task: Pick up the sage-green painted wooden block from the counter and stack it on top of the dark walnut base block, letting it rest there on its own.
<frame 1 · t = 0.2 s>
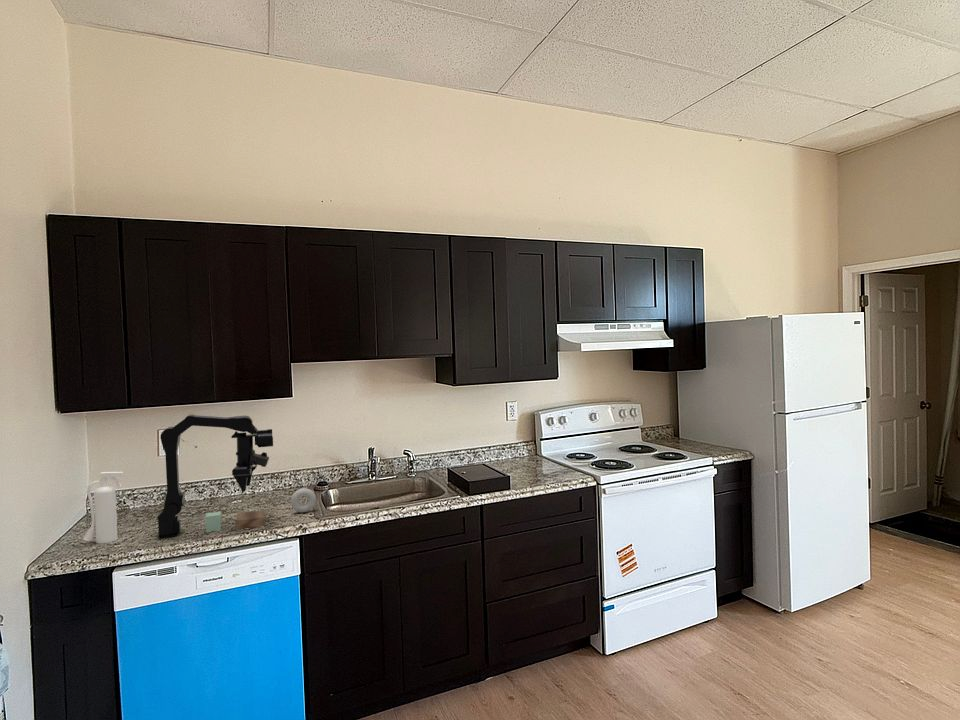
hand: (246, 488, 209), 14 cm above the countertop, tool pointing down, fingers open, 9 cm apart
donut: (303, 512, 223), on the countertop
sage block: (213, 529, 204), on the countertop
fire extinguisher: (104, 541, 195), on the countertop
walnut base: (251, 525, 209), on the countertop
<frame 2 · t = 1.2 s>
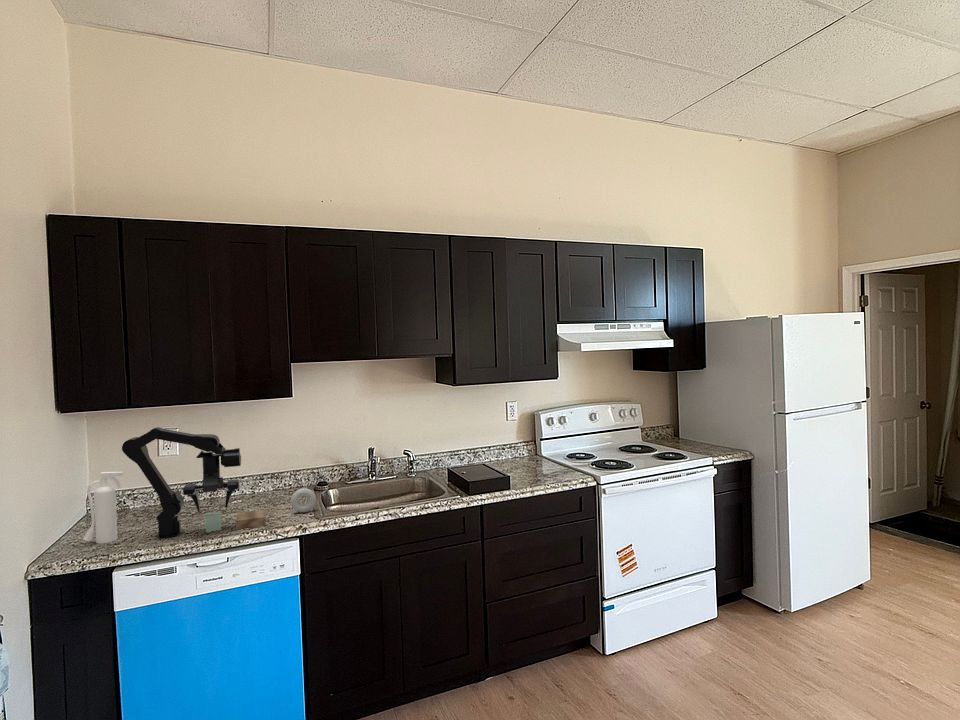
hand: (212, 509, 204), 8 cm above the countertop, tool pointing down, fingers open, 9 cm apart
nothing on the countertop moved.
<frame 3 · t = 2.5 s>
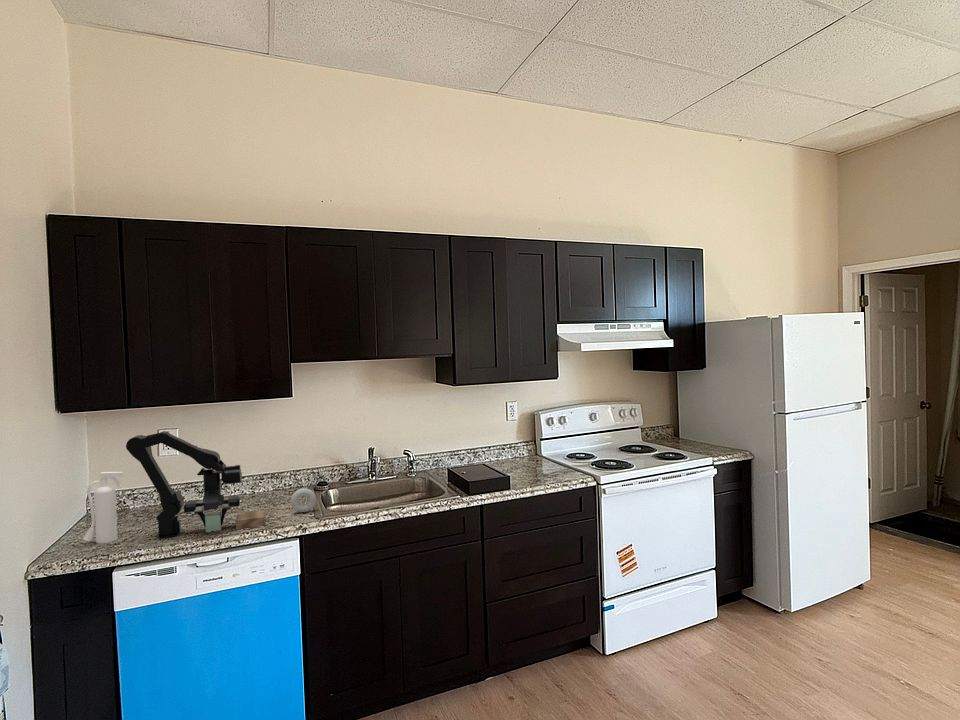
hand: (213, 526, 204), 1 cm above the countertop, tool pointing down, fingers closed on sage block, 5 cm apart
sage block: (213, 529, 204), on the countertop, touching gripper
everything else where it was.
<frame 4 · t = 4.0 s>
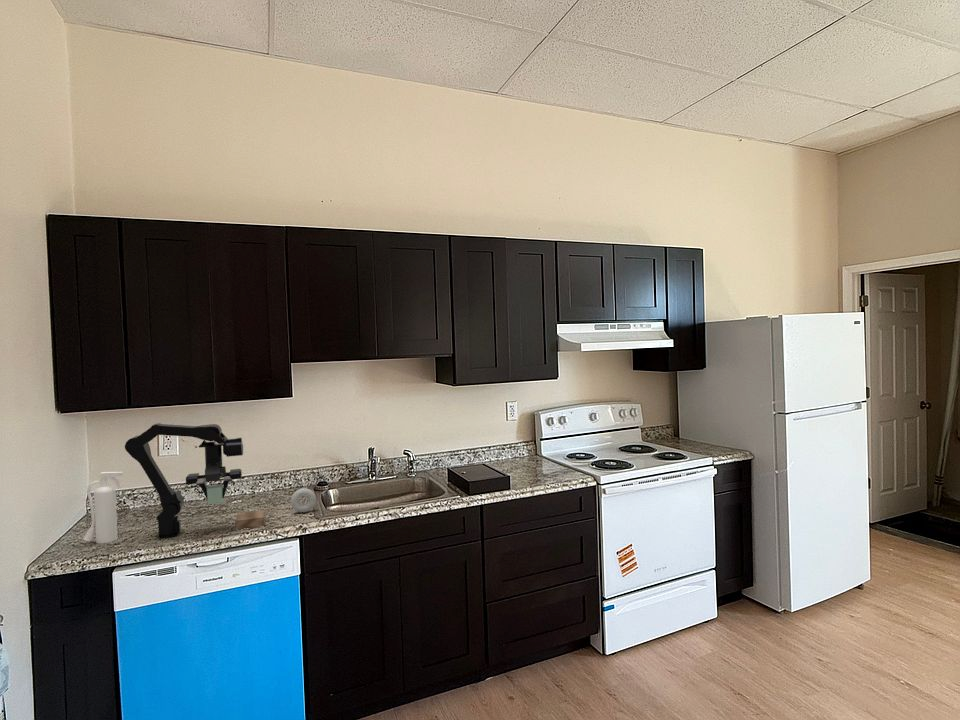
hand: (215, 498, 204), 12 cm above the countertop, tool pointing down, fingers closed on sage block, 5 cm apart
sage block: (215, 502, 204), point 10 cm above the countertop, touching gripper
everything else where it was.
when the fingers open (7 cm above the countertop, at t = 6.0 s): sage block drops 2 cm, resting on walnut base.
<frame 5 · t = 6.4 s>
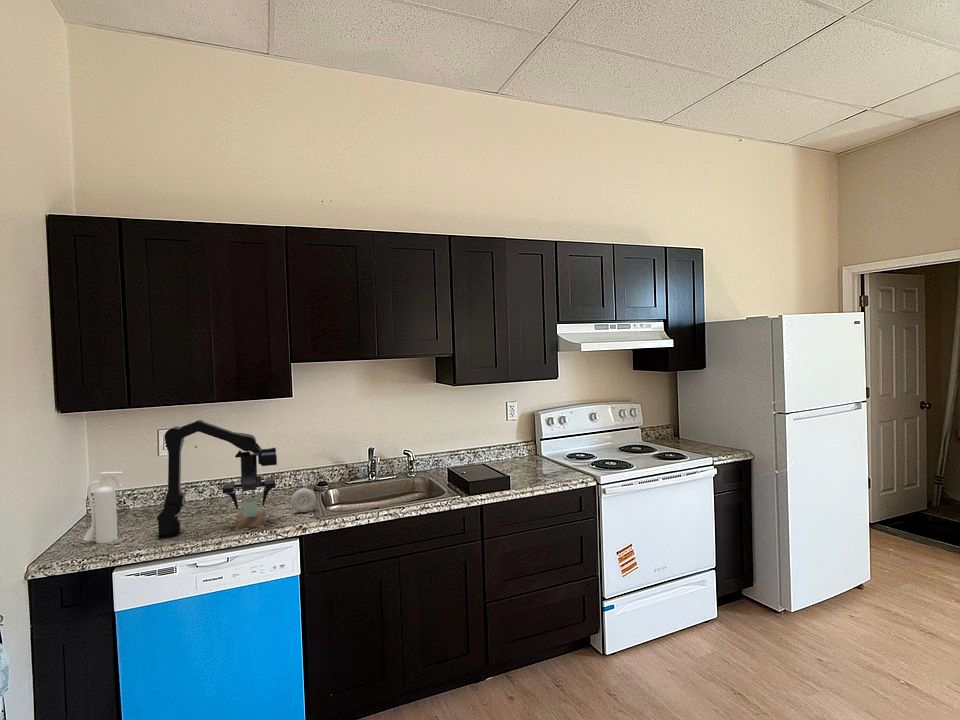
hand: (250, 507, 209), 7 cm above the countertop, tool pointing down, fingers open, 9 cm apart
sage block: (250, 515, 209), point 4 cm above the countertop, touching walnut base
walnut base: (251, 525, 209), on the countertop, touching sage block
everything else where it was.
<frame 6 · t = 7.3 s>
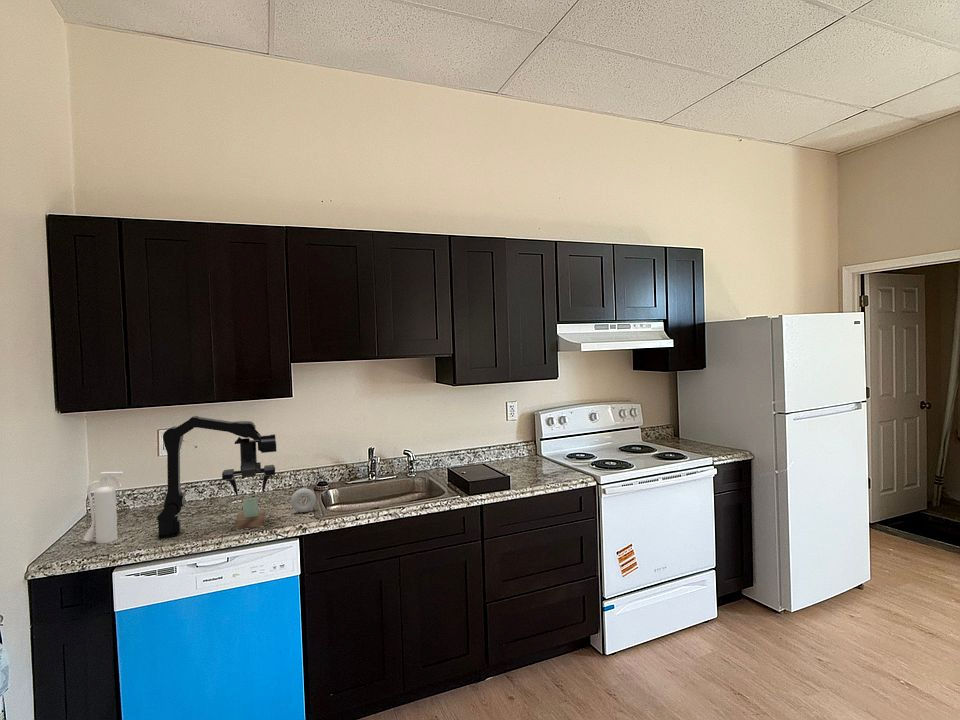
hand: (250, 494, 209), 12 cm above the countertop, tool pointing down, fingers open, 9 cm apart
sage block: (251, 515, 209), point 4 cm above the countertop
walnut base: (251, 525, 209), on the countertop
everything else where it was.
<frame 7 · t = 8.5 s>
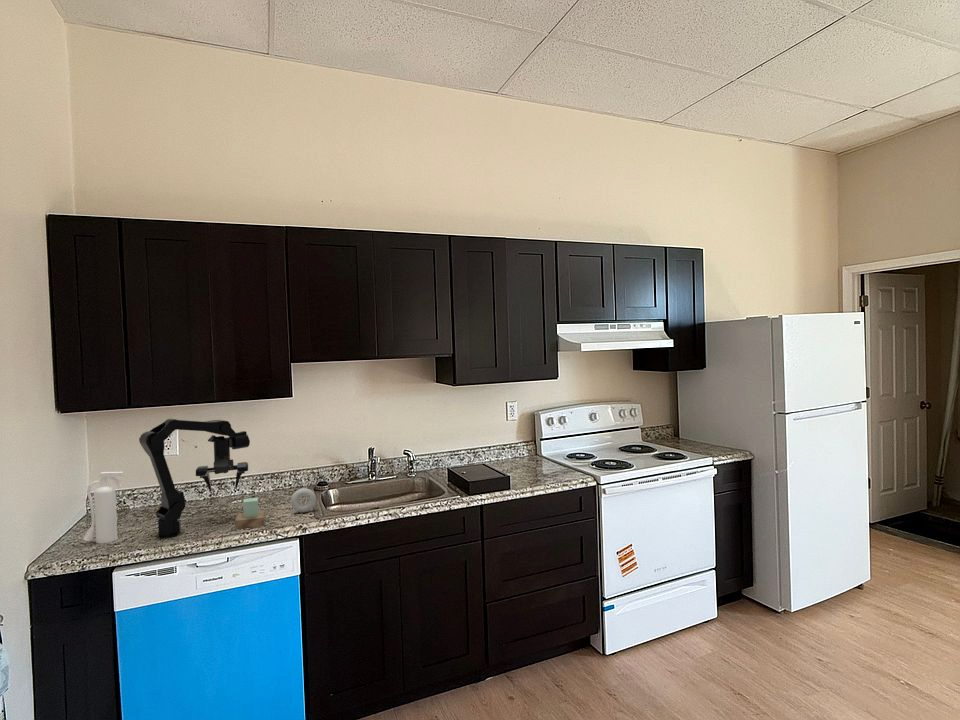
hand: (223, 490, 215), 12 cm above the countertop, tool pointing down, fingers open, 9 cm apart
sage block: (251, 515, 209), point 4 cm above the countertop, touching walnut base
walnut base: (250, 525, 209), on the countertop, touching sage block
everything else where it was.
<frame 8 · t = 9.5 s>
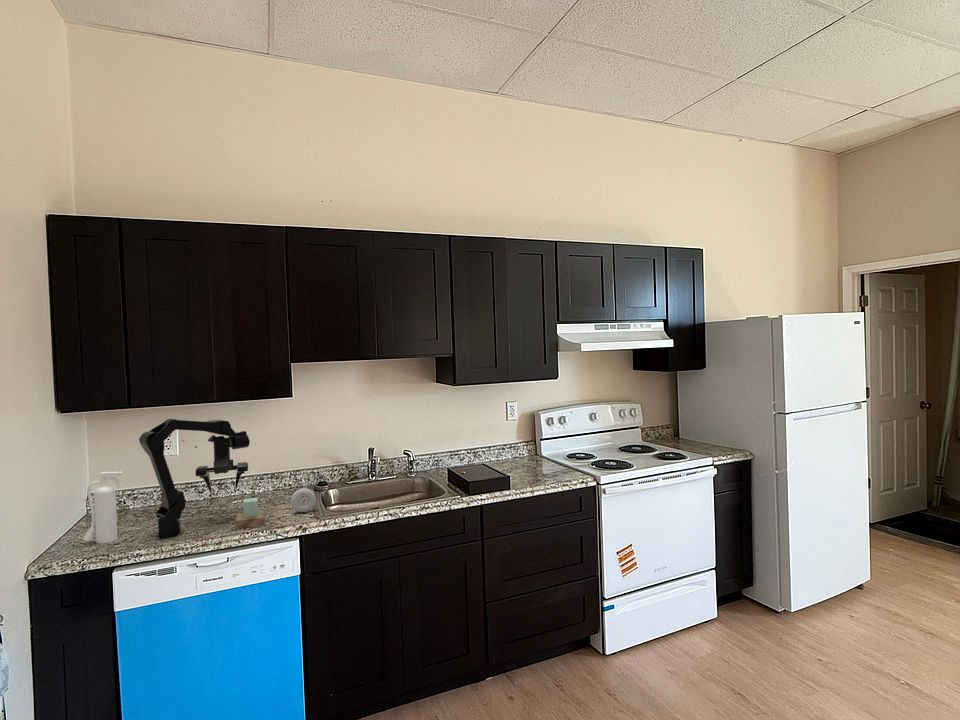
hand: (223, 490, 215), 12 cm above the countertop, tool pointing down, fingers open, 9 cm apart
nothing on the countertop moved.
at the end: sage block 0.2 cm off-centre on the walnut base, point 4.0 cm above the walnut base's base; sage block tilted 0°; the gripper is holding nothing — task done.
